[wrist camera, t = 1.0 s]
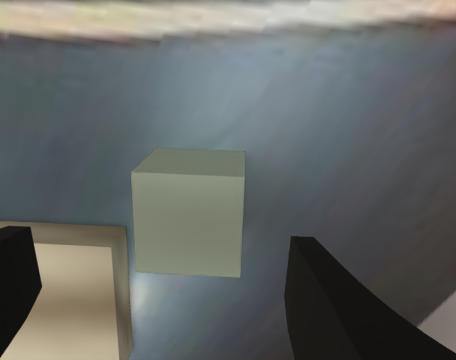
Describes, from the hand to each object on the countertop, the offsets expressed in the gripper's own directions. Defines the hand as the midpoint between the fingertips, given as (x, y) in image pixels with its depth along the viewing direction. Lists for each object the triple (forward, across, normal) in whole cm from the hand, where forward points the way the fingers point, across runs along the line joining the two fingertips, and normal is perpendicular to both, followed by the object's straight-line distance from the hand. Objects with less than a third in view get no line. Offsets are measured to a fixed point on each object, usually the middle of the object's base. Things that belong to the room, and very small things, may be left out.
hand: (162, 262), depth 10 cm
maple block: (+11, +9, +10) cm, 17 cm away
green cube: (+11, 0, +3) cm, 12 cm away
